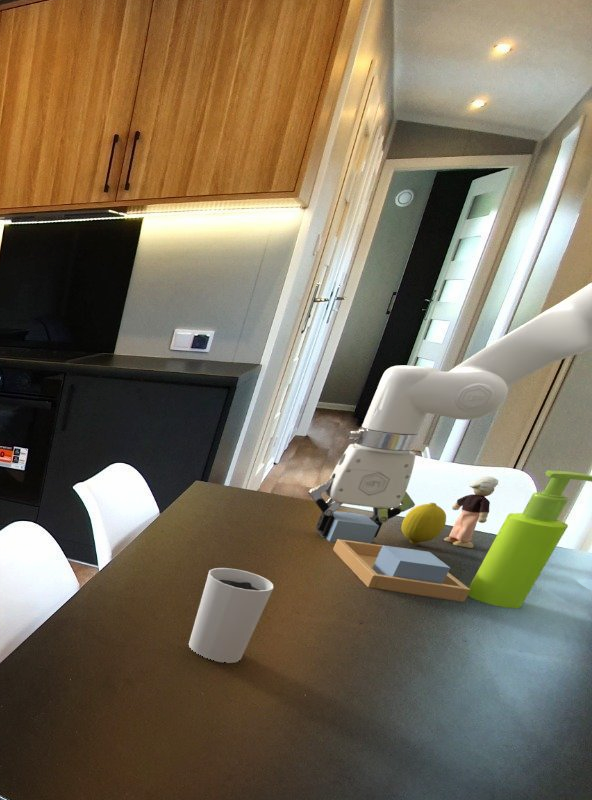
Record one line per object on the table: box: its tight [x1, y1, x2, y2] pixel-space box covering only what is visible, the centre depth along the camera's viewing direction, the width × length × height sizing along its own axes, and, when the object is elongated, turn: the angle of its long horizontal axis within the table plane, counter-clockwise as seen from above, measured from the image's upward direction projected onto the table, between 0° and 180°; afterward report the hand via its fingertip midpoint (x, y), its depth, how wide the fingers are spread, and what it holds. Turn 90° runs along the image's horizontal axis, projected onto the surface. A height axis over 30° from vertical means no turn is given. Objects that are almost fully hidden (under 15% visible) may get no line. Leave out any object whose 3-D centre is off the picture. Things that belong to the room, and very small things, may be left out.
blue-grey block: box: [372, 545, 451, 584], centre depth 99 cm, size 6×7×4 cm
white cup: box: [188, 567, 274, 664], centre depth 78 cm, size 7×7×10 cm
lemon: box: [400, 502, 447, 545], centre depth 116 cm, size 6×6×8 cm
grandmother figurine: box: [443, 476, 499, 549], centre depth 116 cm, size 8×4×13 cm, turn 179°
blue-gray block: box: [317, 510, 379, 544], centre depth 117 cm, size 6×7×4 cm
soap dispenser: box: [467, 470, 592, 609], centre depth 91 cm, size 6×7×20 cm
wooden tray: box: [332, 539, 470, 603], centre depth 103 cm, size 12×17×2 cm
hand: (343, 536), depth 118 cm, fingers closed on blue-gray block, 6 cm apart
